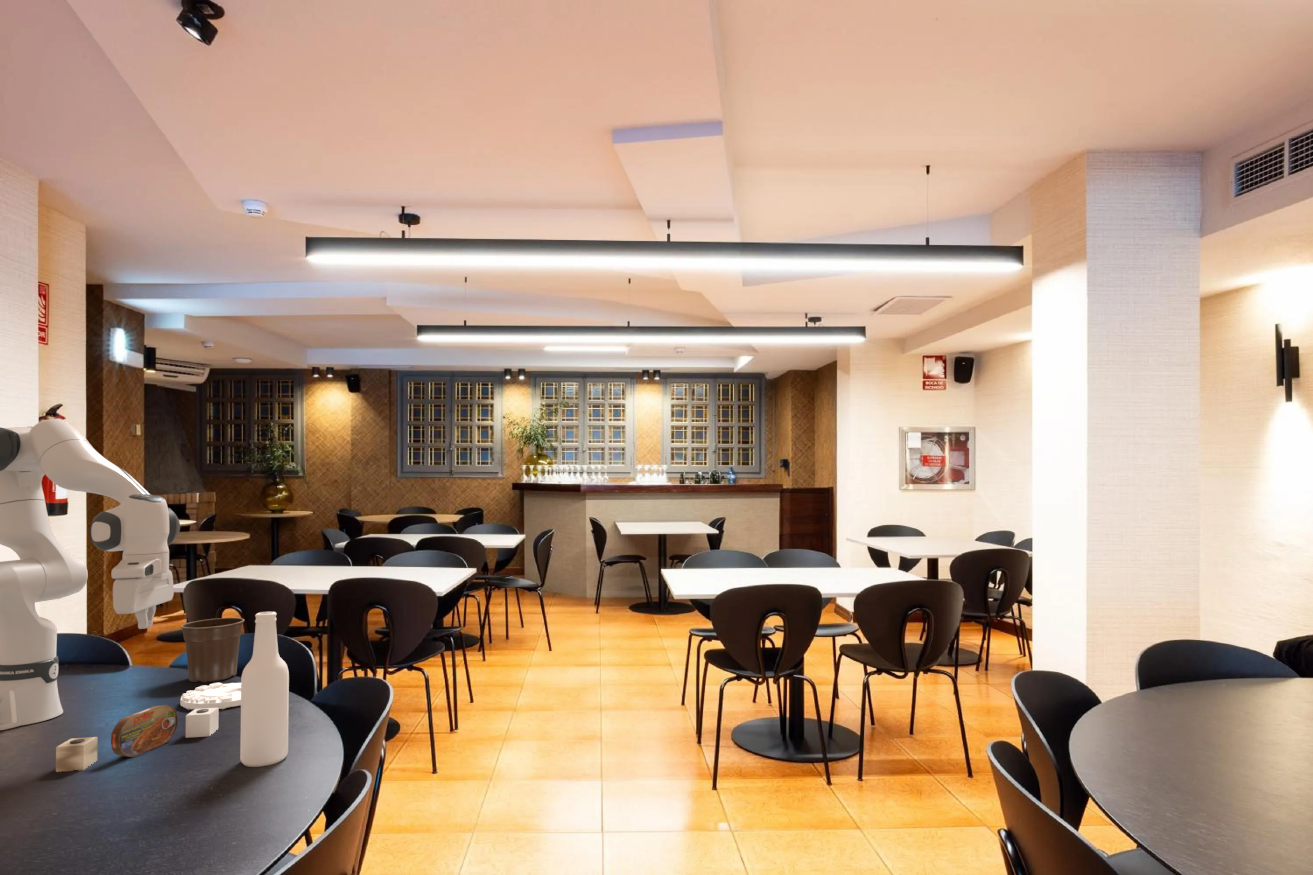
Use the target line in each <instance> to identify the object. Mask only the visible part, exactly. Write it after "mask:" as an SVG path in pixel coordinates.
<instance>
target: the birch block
mask: <svg viewBox="0 0 1313 875" xmlns="http://www.w3.org/2000/svg"><path fill="white" fill-rule="evenodd" d="M98 738H99V737H98V736H92V737H91V736H89V737H76V738H75V737H74V738H72V737H71V738H69V739H68V740H66V741H64V742H63V743H61V744H59V745H57V746H56V747H55V772H56V773H62V771H63V772H74V771H73V770H78V771H85V770H86V769H87V768H89V767H90V766H92V765H93V764H95V763H96V761H97V762H98V745H99V744H98V743H99V742H98ZM94 762H95V763H94ZM91 764H92V765H91ZM88 766H89V767H88Z"/></svg>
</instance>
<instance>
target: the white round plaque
mask: <svg viewBox="0 0 1313 875" xmlns="http://www.w3.org/2000/svg"><path fill="white" fill-rule="evenodd" d="M185 692H186V693H182V695H181V696H180V706H181V707H183V708H184V709H186V710H188V711H190V710H191V711H192V710H195V709H203V708H219V709H222V710H225V709H227V708H231V707H232V708H233V707H238V706H239V707H240V706H241V682H230V683H222V682H220V681H219V682H218V681H217V682H213V683H210V684H209V685H206V684H205V685H200V686H198V687H195V689H194V690H187V691H185Z"/></svg>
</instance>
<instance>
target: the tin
mask: <svg viewBox="0 0 1313 875" xmlns="http://www.w3.org/2000/svg"><path fill="white" fill-rule="evenodd" d="M178 718H179V717H178V713H177V711H176V709H175V708H174V707H173V706H172V705H170V704H169V705H168V704H163V705H153V706H151V707H148V708H146V709H144V710H141V711H137V712H136V713H133V714H130V715H127V716H125V717H123V718H121V719H120V720H119V721H118V722H117V723H116V724H115V725H114V727H113V729H112V731H111V734H110V735H111V736H110V744H111V745H110V746H111V750H112V752H113V753H114V754H115V755H117V756H118V757H123V758H124V757H125V758H126V757H127V758H134V757H137V756H139V755H142V754H144V753H146V752H149V751H151V750H153V749H156V748H158V747H160V746H163V745H165V744H167V743H168V742H169V741H170V740H172V738H173V737H174V735H175V733H176V731H177V727H178V722H179V719H178Z"/></svg>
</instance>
